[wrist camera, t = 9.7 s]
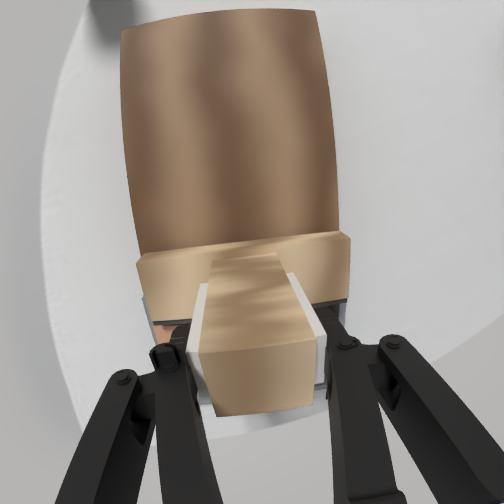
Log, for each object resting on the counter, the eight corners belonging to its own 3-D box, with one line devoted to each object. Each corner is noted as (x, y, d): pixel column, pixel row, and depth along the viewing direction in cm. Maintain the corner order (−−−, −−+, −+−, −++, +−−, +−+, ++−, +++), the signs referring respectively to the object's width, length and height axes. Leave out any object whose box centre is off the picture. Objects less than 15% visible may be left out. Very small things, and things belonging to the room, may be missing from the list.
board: (302, 30, 19) (314, 10, 15) (323, 261, 25) (338, 278, 22) (135, 47, 18) (121, 30, 14) (162, 280, 25) (151, 300, 21)
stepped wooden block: (339, 230, 19) (434, 302, 9) (338, 291, 21) (409, 388, 11) (144, 253, 19) (72, 347, 8) (159, 313, 20) (117, 426, 10)
